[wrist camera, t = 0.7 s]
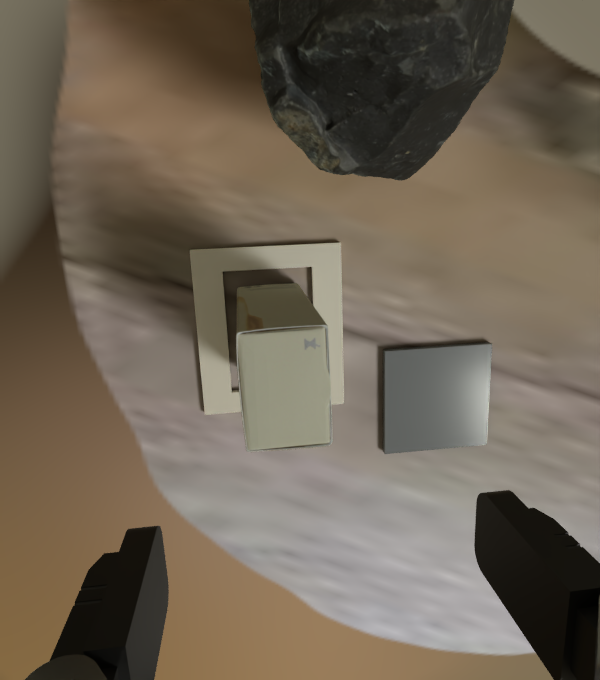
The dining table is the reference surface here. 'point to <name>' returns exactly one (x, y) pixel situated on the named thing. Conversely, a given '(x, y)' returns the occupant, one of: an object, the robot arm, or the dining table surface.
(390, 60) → the dark grey rock
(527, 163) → the dining table surface
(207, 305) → the flat square frame
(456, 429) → the tile
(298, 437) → the skincare box
